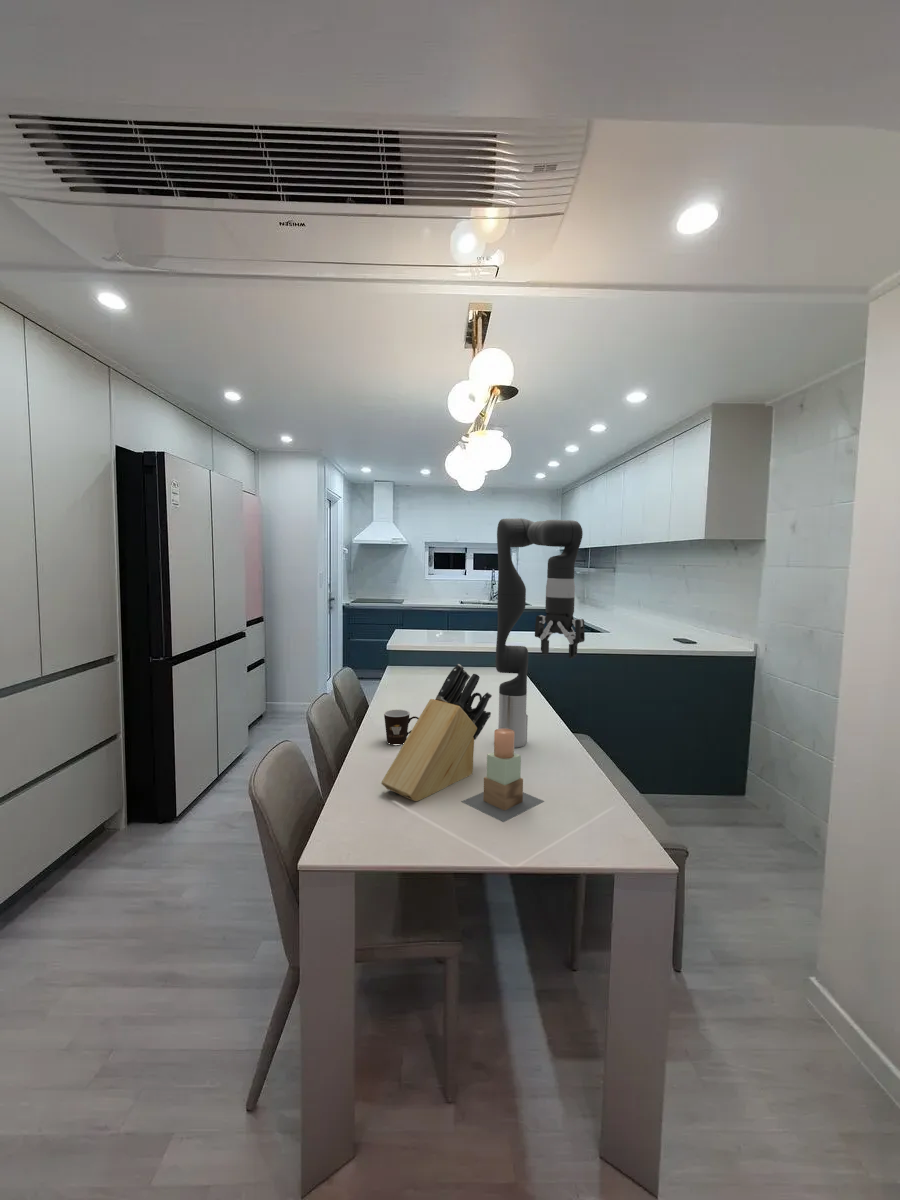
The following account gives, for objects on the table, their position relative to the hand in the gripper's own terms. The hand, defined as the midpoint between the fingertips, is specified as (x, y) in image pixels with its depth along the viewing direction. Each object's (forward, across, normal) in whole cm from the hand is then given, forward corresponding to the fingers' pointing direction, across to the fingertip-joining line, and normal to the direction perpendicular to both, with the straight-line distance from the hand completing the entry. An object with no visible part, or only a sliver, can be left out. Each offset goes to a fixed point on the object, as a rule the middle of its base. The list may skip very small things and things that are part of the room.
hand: (558, 655), depth 139 cm
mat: (+36, +3, +18) cm, 40 cm away
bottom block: (+36, +3, +18) cm, 40 cm away
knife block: (+36, +24, +20) cm, 48 cm away
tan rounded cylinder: (+24, +3, +18) cm, 30 cm away
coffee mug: (+36, +55, +10) cm, 67 cm away
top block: (+30, +3, +18) cm, 35 cm away
